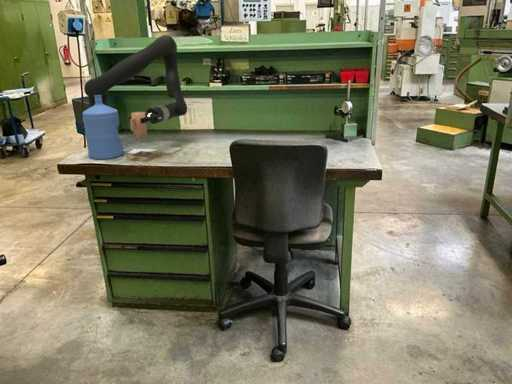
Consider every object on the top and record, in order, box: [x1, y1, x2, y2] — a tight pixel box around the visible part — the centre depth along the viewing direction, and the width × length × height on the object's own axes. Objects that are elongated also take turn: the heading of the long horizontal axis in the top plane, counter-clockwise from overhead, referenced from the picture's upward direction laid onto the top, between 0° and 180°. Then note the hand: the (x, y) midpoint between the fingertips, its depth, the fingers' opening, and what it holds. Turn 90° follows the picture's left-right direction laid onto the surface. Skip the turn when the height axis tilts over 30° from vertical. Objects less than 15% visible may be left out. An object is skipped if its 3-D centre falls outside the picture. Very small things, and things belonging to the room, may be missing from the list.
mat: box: [152, 146, 183, 155], centre depth 202 cm, size 10×10×1 cm
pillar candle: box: [129, 111, 148, 138], centre depth 185 cm, size 6×8×10 cm
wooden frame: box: [126, 150, 160, 163], centre depth 191 cm, size 10×10×2 cm
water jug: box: [82, 95, 124, 160], centre depth 192 cm, size 16×16×28 cm
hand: (135, 120), depth 183 cm, fingers closed on pillar candle, 6 cm apart
